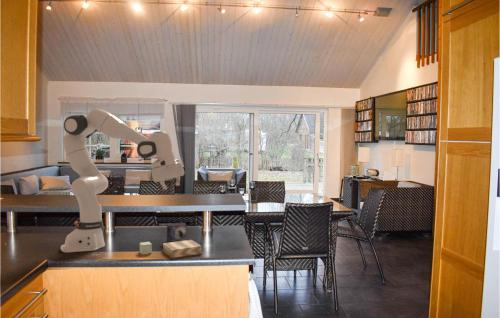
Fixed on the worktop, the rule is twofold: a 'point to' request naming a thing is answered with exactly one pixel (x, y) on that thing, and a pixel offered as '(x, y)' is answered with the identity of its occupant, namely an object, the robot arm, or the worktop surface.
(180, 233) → the small box
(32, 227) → the worktop surface
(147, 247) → the sage cube
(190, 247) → the birch platform
